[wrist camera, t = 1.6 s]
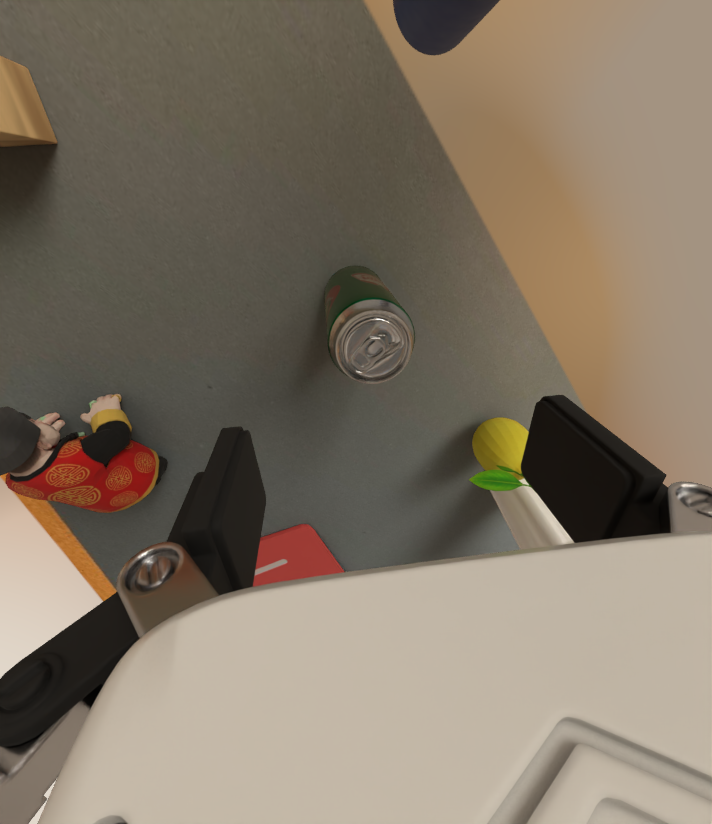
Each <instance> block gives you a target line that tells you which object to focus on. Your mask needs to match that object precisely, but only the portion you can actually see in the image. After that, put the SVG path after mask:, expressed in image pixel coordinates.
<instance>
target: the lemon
mask: <svg viewBox="0 0 712 824" xmlns="http://www.w3.org/2000/svg"><path fill="white" fill-rule="evenodd" d="M528 433H529V432H528V431H527V430H526V429H525V428H524V427H523V426H522V425H521V424H519V423H518V422H516V421H514V420H511V419H508V418H493V419H489V420H487V421H485V422H483V423H482V424H481V425H480V426H479V427H478V428H477V430H476V432H475V433H474V436H473V440H472V445H473V451H474V454H475V457H476V458H477V460H478V461H479V463H480V464H481V466H482V467H483V468H484V469H485V470H486V471H483V472H480V473H478V474H476V475H475V476H473V477H472V478H470V479H469V480H470V481H471V482H472V483H474V484H475V485H477V486H479V487H481V488H483V489H487V490H492V491H510V490H513V489H516V488H518V487H520V486H528V487H531V488H532V486H531V485H530V484H529V483H528V481H527V480H526V479H525V477H524V476H523V474H522V472H521V462H522V458H523V454H524V450H525V446H526V442H527V437H528ZM521 479H525V480H526V482H527V483H528V484H529V485H526V484H523V483H521V482H520V481H519V480H521ZM532 489H533V488H532ZM533 490H534V489H533ZM534 491H535V490H534Z"/></svg>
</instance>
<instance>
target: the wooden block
mask: <svg viewBox="0 0 712 824" xmlns="http://www.w3.org/2000/svg"><path fill="white" fill-rule="evenodd" d="M57 143H58V142H57V140H56V137H55V135H54V132H53V130H52V127H51V125H50V122H49V120H48V117H47V115H46V112H45V110H44V107H43V105H42V102H41V100H40V97H39V95H38V92H37V90H36V87H35V85H34V83H33V80H32V78H31V75H30V73H29V70H28V68H27V67H24V66H22V65H20V64H18V63H15V62H13V61H11V60H9V59H6V58H4V57H2V56H0V147H7V146H25V145H43V144H57Z"/></svg>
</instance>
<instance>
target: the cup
mask: <svg viewBox="0 0 712 824" xmlns="http://www.w3.org/2000/svg"><path fill="white" fill-rule="evenodd" d="M519 481H520V482H521V483H523V484H526V485H529V484H528V483H527V482H526V480H525V479H521V480H519ZM490 492H491V493H492V495H493V497H494V499H495V501H496V503H497V505H498V507H499V509H500V511H501V513H502V515H503V517H504V519H505V521H506V523H507V525H508V527H509V528H510V530H511V532H512V534H513V536H514V538H515V540H516V542H517V544H518V546H519V548H520V550H522V549H530V548H538V547H547V546H555V545H563V544H571V543H574V541H573V540H572V539H571V538H570V536H569V535H568V534H567V532H566V531H565V530H564V528H563V527H562V526H561V524H560V523H559V522H558V520H557V519H556V518H555V517H554V515H553V514H552V513H551V511H550V510H549V509H548V507H547V506H546V505H545V503H544V502H543V501H542V500H541V498H540V497H539V496H538V494H537V493H536V492H535V491H534V490H533V489H532V488H531V487H528V486H520V487H518V488H516V489H513V490H510V491H492V490H490Z"/></svg>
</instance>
